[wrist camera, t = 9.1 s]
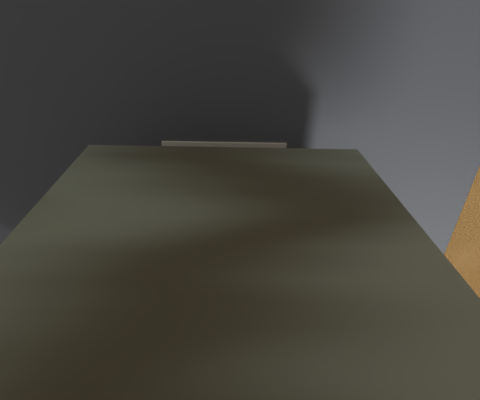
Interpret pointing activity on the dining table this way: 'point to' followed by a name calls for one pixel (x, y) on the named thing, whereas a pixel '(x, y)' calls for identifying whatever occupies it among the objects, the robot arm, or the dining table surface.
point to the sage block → (230, 283)
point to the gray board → (245, 88)
